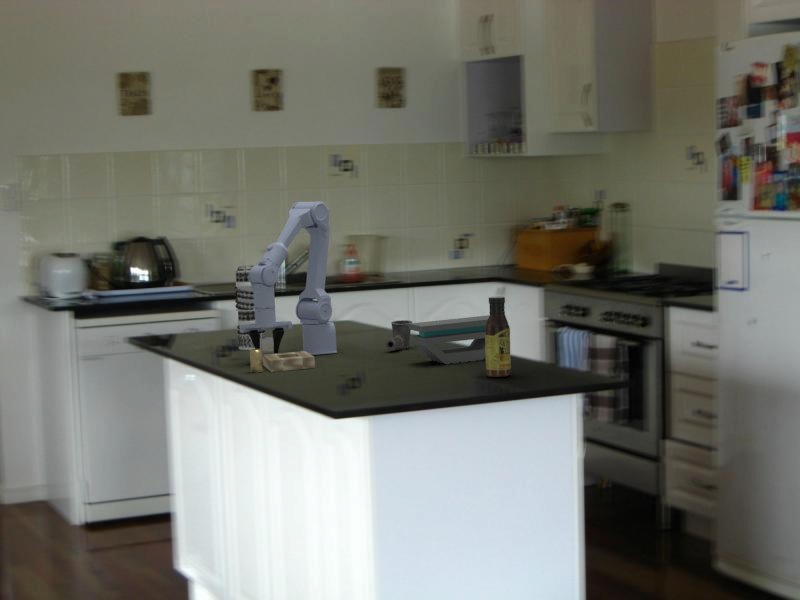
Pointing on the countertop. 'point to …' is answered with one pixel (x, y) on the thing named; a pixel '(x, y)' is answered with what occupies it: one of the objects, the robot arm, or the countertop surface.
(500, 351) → the sauce bottle
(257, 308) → the robot arm
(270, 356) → the socket block
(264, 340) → the square bit
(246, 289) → the decorative candle
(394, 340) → the pipe
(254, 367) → the cylinder
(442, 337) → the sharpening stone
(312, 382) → the countertop surface
